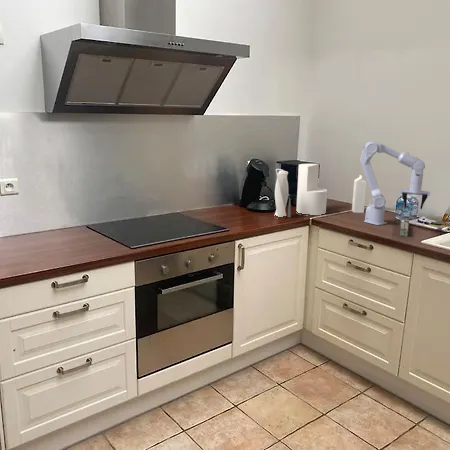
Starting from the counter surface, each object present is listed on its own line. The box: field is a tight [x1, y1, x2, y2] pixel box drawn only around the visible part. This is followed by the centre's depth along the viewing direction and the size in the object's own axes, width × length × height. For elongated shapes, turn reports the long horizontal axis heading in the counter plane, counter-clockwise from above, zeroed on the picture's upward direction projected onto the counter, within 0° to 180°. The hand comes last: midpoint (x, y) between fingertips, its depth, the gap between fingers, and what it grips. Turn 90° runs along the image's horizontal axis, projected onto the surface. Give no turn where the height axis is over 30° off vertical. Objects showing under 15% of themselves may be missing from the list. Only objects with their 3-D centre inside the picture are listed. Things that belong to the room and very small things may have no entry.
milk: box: [351, 174, 368, 214], centre depth 273 cm, size 6×6×22 cm
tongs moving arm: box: [399, 222, 407, 237], centre depth 232 cm, size 21×3×2 cm, turn 159°
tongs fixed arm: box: [399, 218, 410, 237], centre depth 234 cm, size 24×4×3 cm, turn 159°
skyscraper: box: [274, 168, 292, 218], centre depth 256 cm, size 8×8×28 cm
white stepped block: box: [296, 163, 328, 216], centre depth 269 cm, size 17×17×28 cm
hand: (413, 208), depth 242 cm, fingers open, 7 cm apart
